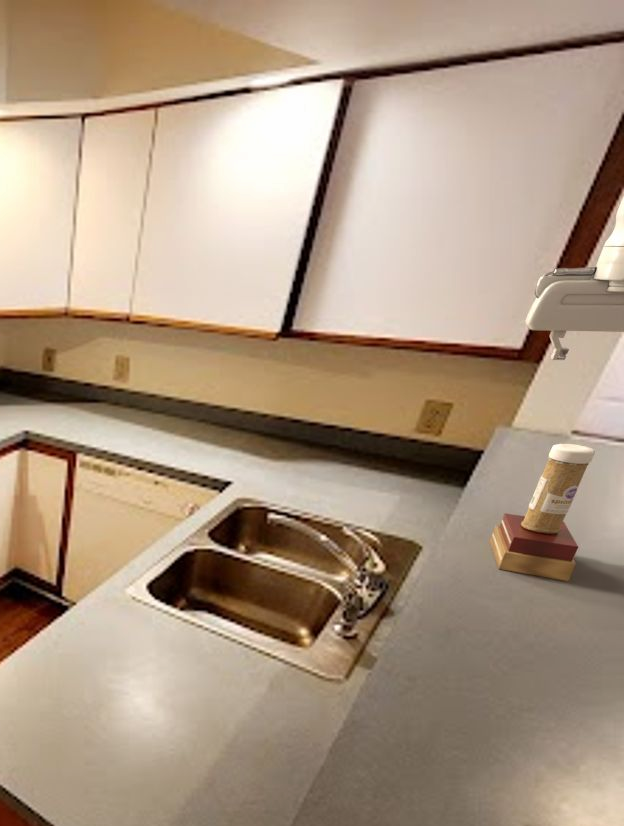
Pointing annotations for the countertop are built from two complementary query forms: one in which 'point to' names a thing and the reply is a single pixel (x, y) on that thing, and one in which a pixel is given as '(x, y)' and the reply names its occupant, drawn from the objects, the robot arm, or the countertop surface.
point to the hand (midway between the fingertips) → (598, 361)
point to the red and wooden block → (533, 549)
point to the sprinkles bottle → (557, 487)
